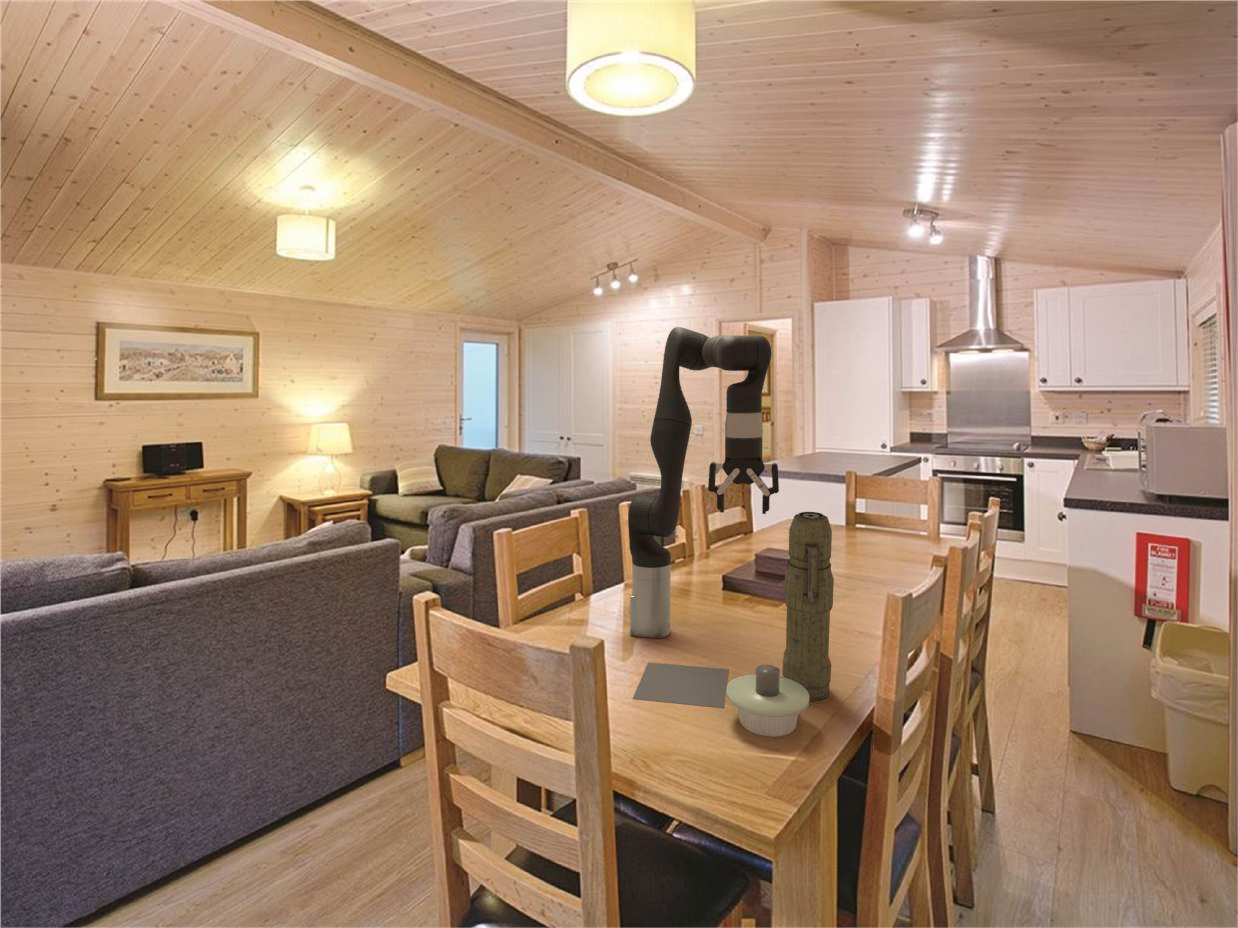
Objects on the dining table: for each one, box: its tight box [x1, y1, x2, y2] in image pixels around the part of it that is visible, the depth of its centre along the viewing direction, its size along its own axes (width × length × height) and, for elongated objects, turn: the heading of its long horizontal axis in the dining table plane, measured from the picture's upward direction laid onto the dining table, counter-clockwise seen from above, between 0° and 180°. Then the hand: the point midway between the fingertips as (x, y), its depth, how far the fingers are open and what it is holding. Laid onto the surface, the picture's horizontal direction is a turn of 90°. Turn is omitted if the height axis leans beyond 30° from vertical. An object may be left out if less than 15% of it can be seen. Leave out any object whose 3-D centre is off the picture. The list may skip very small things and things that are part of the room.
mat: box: [632, 661, 730, 709], centre depth 129 cm, size 17×17×1 cm
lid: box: [725, 664, 810, 717], centre depth 112 cm, size 14×14×5 cm
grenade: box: [782, 511, 835, 702], centre depth 123 cm, size 9×12×35 cm
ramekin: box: [737, 708, 799, 737], centre depth 113 cm, size 11×11×5 cm
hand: (743, 512), depth 135 cm, fingers open, 8 cm apart
